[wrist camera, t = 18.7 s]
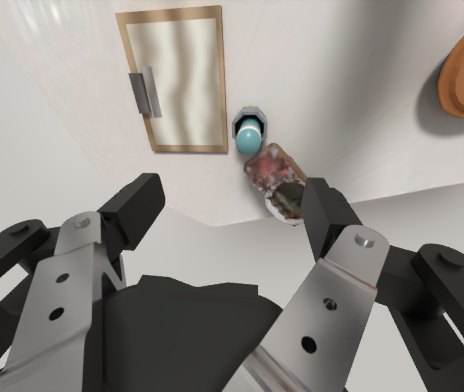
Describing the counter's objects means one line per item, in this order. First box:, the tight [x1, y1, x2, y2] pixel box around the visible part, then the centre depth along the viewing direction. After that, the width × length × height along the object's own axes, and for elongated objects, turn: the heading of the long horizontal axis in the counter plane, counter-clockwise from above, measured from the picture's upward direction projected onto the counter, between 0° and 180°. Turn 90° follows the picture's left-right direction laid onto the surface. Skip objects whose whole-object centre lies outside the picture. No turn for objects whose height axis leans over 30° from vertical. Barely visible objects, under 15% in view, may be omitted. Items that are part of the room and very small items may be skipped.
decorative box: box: [244, 143, 307, 226], centre depth 42 cm, size 13×20×10 cm, turn 36°
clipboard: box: [115, 5, 228, 152], centre depth 38 cm, size 18×24×2 cm
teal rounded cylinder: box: [236, 116, 261, 155], centre depth 35 cm, size 4×4×12 cm
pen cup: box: [232, 107, 267, 142], centre depth 38 cm, size 6×6×6 cm
